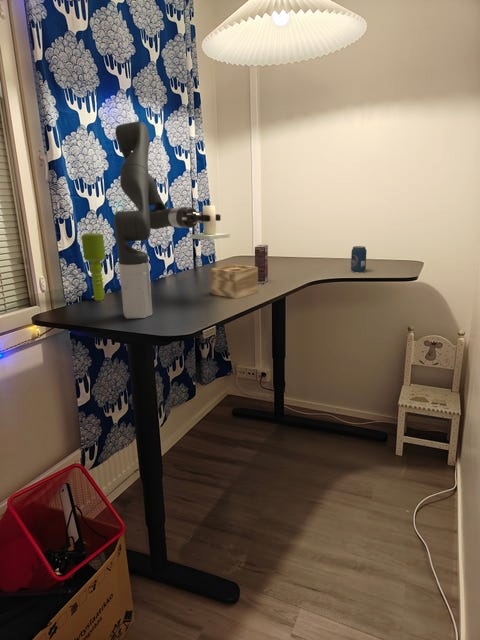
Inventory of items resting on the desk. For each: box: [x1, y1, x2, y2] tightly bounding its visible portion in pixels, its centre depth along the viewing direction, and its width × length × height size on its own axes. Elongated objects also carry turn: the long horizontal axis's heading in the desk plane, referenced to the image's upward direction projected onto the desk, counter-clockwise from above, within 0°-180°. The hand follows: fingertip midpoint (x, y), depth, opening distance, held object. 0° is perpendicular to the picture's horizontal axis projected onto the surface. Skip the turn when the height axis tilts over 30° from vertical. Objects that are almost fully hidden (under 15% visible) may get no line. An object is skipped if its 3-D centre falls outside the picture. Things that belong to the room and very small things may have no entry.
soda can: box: [350, 245, 367, 273], centre depth 215 cm, size 7×7×12 cm
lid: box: [189, 205, 231, 240], centre depth 160 cm, size 10×10×11 cm
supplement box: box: [254, 244, 269, 284], centre depth 196 cm, size 9×5×16 cm, turn 168°
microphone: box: [81, 232, 106, 301], centre depth 169 cm, size 8×8×25 cm
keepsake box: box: [210, 264, 259, 299], centre depth 175 cm, size 13×13×10 cm
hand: (214, 217), depth 157 cm, fingers closed on lid, 4 cm apart
